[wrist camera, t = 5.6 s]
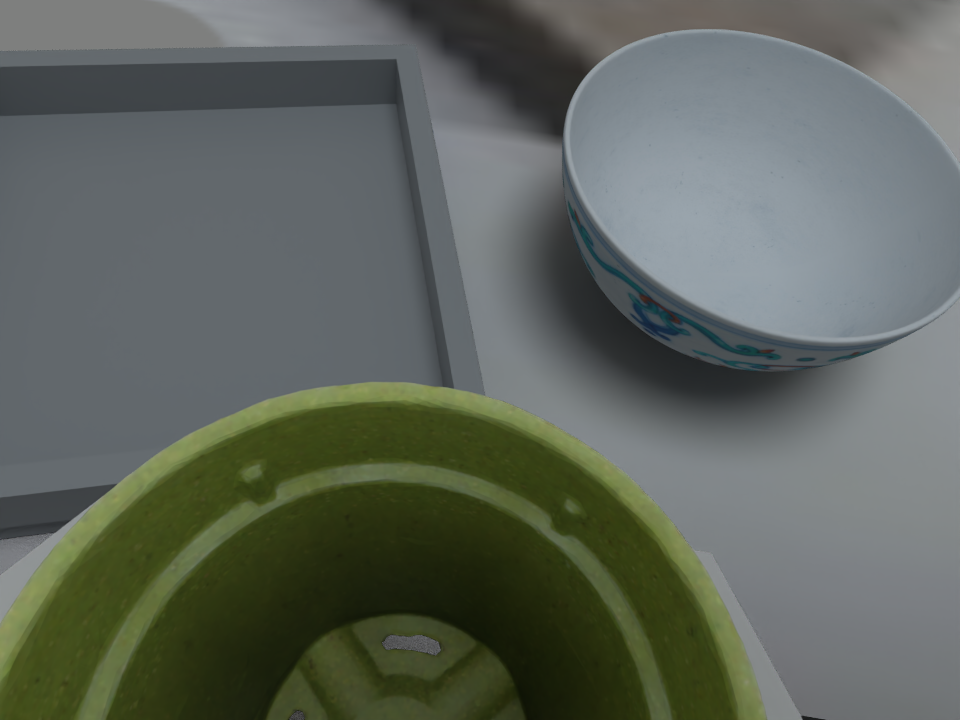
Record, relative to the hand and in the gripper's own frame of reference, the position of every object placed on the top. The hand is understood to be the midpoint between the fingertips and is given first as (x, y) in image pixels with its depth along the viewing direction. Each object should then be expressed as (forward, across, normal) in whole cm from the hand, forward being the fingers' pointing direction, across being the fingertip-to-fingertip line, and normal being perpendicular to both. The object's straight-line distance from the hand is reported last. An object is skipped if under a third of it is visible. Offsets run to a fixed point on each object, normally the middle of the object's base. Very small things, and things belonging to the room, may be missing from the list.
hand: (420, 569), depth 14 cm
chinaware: (+20, +9, +4) cm, 22 cm away
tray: (+16, -11, +2) cm, 20 cm away
